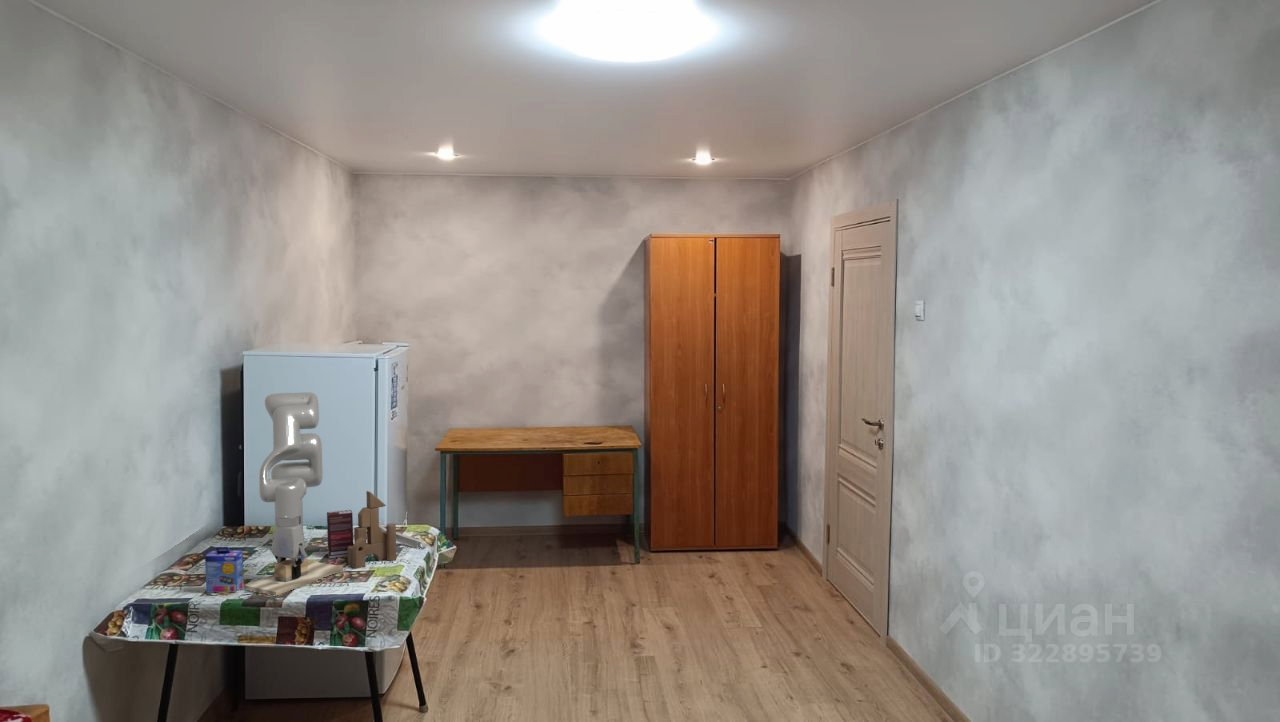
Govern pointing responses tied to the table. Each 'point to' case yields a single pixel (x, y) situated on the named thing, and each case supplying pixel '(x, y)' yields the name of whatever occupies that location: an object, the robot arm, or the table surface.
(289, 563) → the block
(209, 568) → the ink cartridge box
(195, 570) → the table surface
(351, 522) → the supplement box
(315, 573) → the board
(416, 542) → the wrench
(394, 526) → the wooden toy
